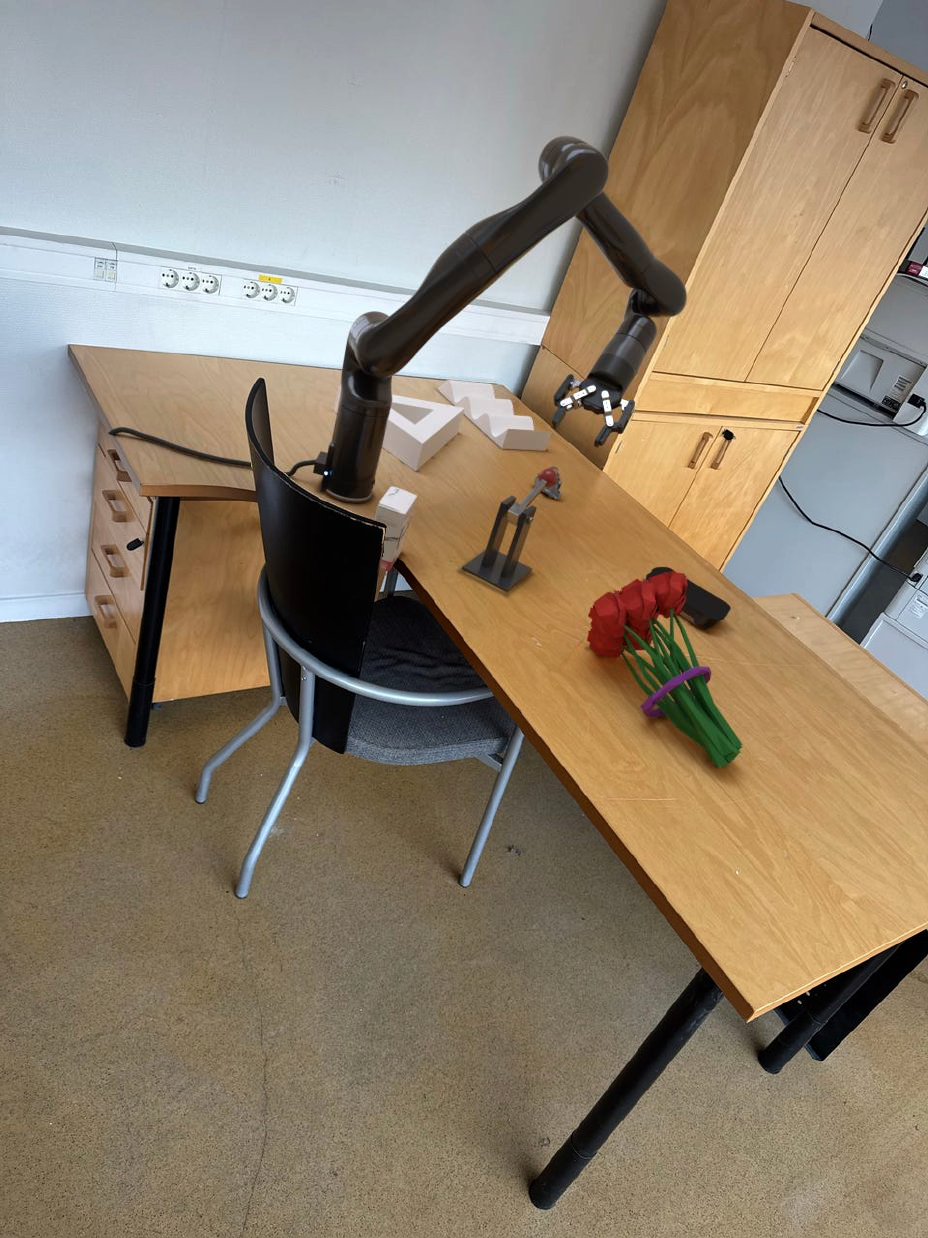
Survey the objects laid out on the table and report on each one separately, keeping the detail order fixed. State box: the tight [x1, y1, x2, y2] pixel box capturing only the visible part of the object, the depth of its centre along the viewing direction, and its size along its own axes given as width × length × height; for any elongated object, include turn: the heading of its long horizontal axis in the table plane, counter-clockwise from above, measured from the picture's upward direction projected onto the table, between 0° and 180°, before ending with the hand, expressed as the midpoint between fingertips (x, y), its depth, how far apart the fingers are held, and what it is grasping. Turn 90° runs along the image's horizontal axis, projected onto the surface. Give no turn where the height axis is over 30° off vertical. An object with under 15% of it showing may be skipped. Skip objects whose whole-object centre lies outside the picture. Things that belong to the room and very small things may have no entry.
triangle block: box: [333, 384, 465, 472], centre depth 192 cm, size 30×26×6 cm
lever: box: [506, 467, 558, 527], centre depth 147 cm, size 15×3×3 cm, turn 153°
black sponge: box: [645, 566, 732, 630], centre depth 157 cm, size 16×8×4 cm, turn 46°
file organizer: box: [437, 379, 553, 452], centre depth 215 cm, size 13×35×5 cm, turn 28°
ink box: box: [373, 485, 418, 573], centre depth 140 cm, size 9×5×12 cm, turn 168°
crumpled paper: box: [533, 466, 563, 500], centre depth 184 cm, size 4×8×7 cm, turn 30°
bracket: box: [461, 495, 538, 593], centre depth 146 cm, size 11×9×14 cm
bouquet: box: [586, 570, 743, 769], centre depth 125 cm, size 20×16×30 cm
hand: (575, 435), depth 153 cm, fingers open, 8 cm apart
